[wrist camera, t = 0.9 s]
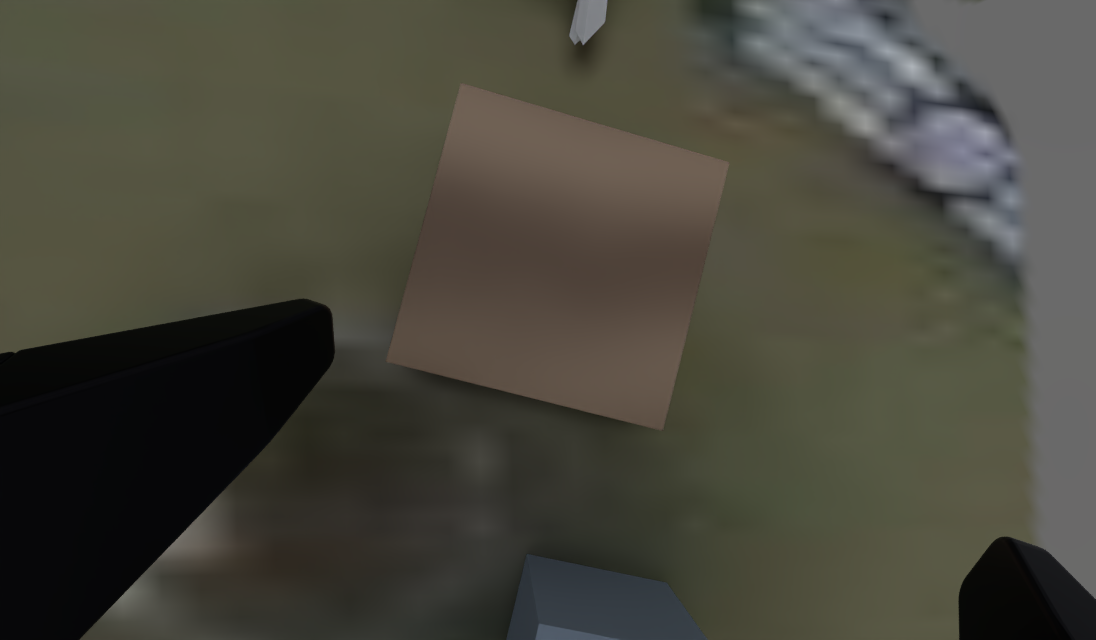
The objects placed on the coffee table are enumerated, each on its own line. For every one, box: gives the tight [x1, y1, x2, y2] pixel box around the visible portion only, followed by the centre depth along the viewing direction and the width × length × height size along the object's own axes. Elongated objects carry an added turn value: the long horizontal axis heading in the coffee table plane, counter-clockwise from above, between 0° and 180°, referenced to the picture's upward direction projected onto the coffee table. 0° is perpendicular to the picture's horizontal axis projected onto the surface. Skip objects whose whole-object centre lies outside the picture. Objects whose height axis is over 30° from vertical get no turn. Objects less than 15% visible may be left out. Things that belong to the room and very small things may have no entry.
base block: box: [386, 83, 730, 431], centre depth 19 cm, size 8×8×4 cm
